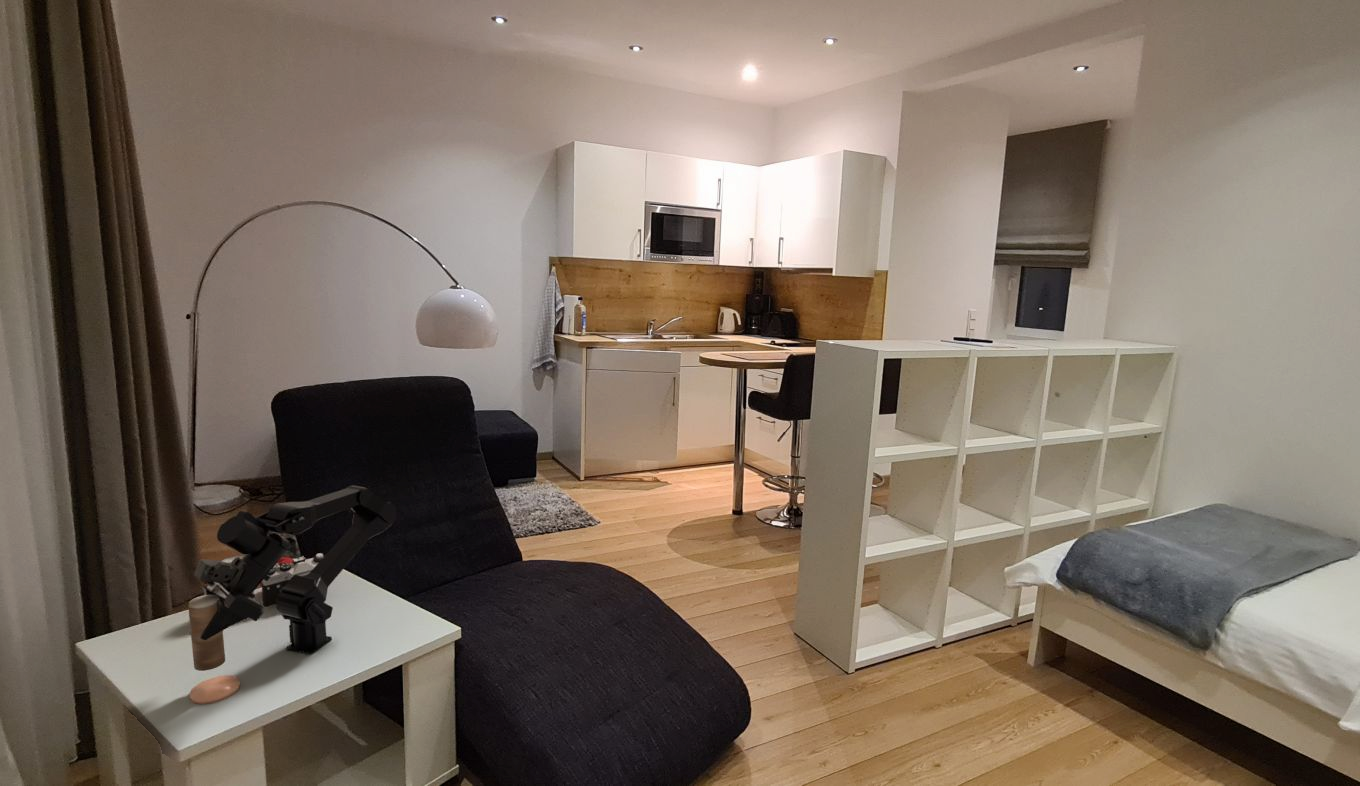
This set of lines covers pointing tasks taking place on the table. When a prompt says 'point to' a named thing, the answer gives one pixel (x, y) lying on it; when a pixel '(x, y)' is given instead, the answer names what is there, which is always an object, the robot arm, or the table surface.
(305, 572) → the camera
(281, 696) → the table surface
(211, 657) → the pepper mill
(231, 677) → the coaster
